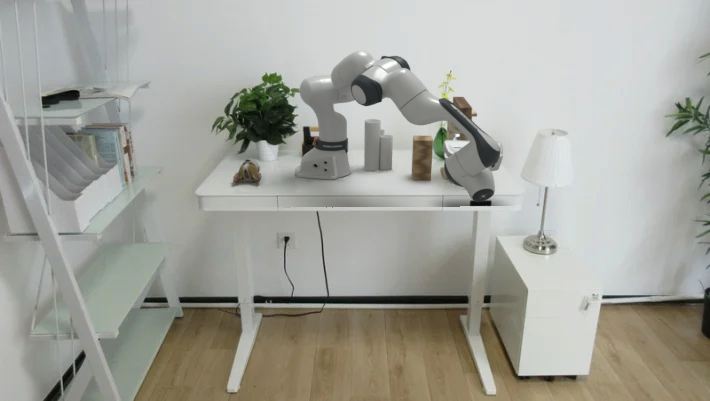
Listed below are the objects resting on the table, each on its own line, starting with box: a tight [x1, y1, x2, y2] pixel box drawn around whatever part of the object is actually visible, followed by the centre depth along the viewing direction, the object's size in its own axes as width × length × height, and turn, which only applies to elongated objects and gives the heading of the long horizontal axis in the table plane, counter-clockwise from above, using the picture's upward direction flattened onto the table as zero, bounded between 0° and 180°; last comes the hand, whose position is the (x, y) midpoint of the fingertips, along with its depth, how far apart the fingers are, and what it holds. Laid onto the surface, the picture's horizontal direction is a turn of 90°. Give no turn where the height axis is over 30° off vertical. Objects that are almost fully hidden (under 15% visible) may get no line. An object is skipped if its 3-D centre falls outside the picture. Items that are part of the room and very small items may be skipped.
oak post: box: [411, 135, 434, 181], centre depth 214 cm, size 7×7×16 cm
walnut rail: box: [452, 96, 473, 119], centre depth 207 cm, size 4×20×4 cm, turn 178°
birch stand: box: [439, 107, 478, 180], centre depth 215 cm, size 11×10×26 cm
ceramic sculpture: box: [232, 156, 262, 184], centre depth 213 cm, size 11×9×15 cm
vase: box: [363, 118, 394, 172], centre depth 224 cm, size 11×7×20 cm, turn 97°
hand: (469, 135), depth 194 cm, fingers open, 8 cm apart
